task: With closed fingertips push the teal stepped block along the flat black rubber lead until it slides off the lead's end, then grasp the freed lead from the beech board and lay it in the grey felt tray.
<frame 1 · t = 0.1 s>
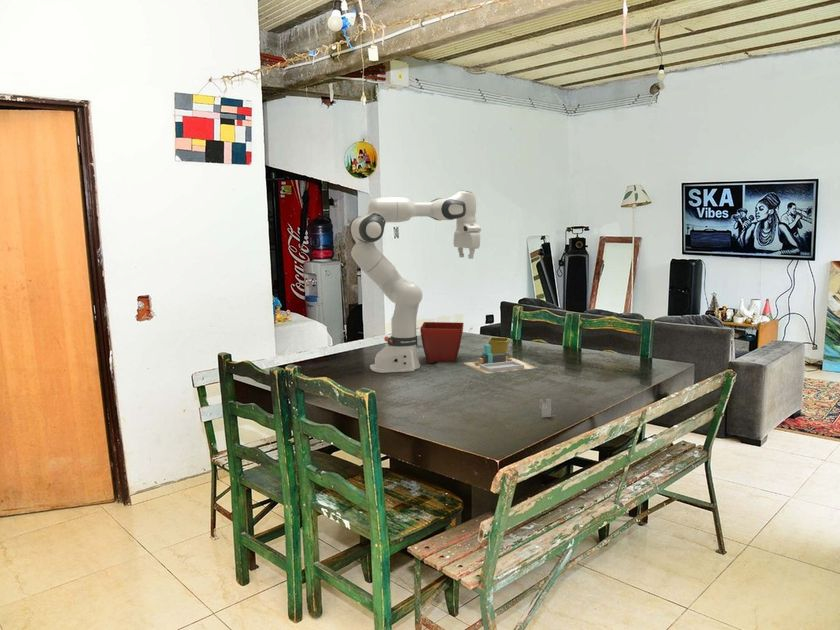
hand: (466, 258, 306), 48 cm above the table, fingers open, 8 cm apart
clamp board: (499, 367, 299), on the table
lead: (493, 363, 302), point 1 cm above the table, touching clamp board
architectural model: (530, 416, 230), on the table
flower pot: (498, 358, 320), on the table
teal stepped block: (487, 354, 300), point 6 cm above the table, slide at 0.0 cm
plant pot: (442, 361, 314), on the table
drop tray: (501, 368, 293), resting on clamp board
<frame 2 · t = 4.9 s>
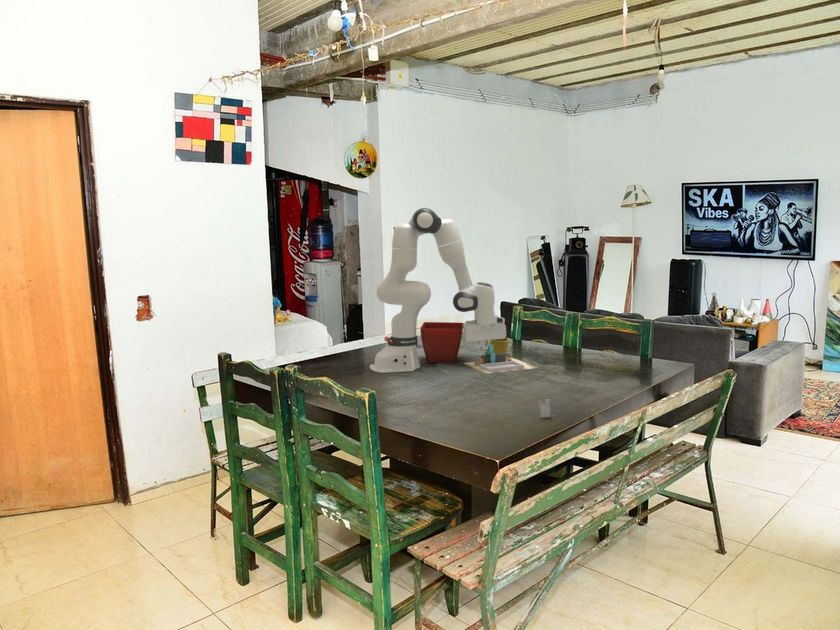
hand: (484, 350, 299), 8 cm above the table, fingers closed
teal stepped block: (490, 354, 300), point 6 cm above the table, slide at 1.3 cm, touching gripper
everything else where it was.
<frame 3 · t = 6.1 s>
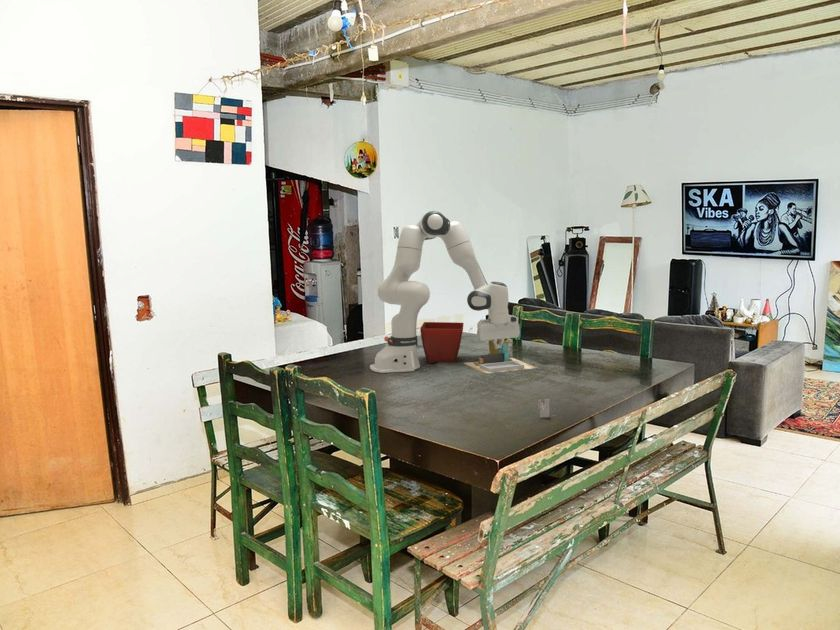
hand: (498, 348, 302), 8 cm above the table, fingers closed
teal stepped block: (503, 352, 303), point 6 cm above the table, slide at 8.2 cm, touching gripper
everything else where it was.
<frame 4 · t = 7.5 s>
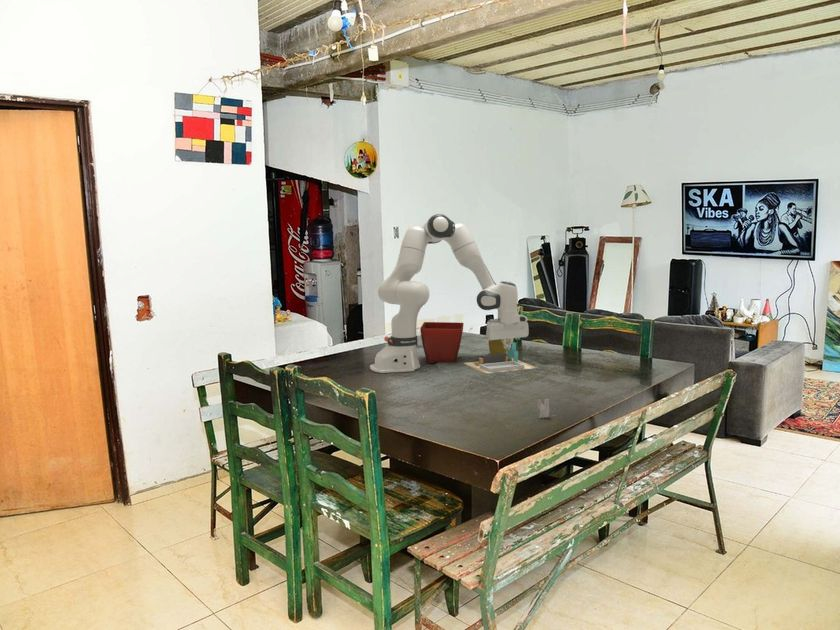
hand: (507, 348, 303), 8 cm above the table, fingers closed
teal stepped block: (512, 351, 305), point 6 cm above the table, slide at 12.9 cm, touching gripper
everything else where it was.
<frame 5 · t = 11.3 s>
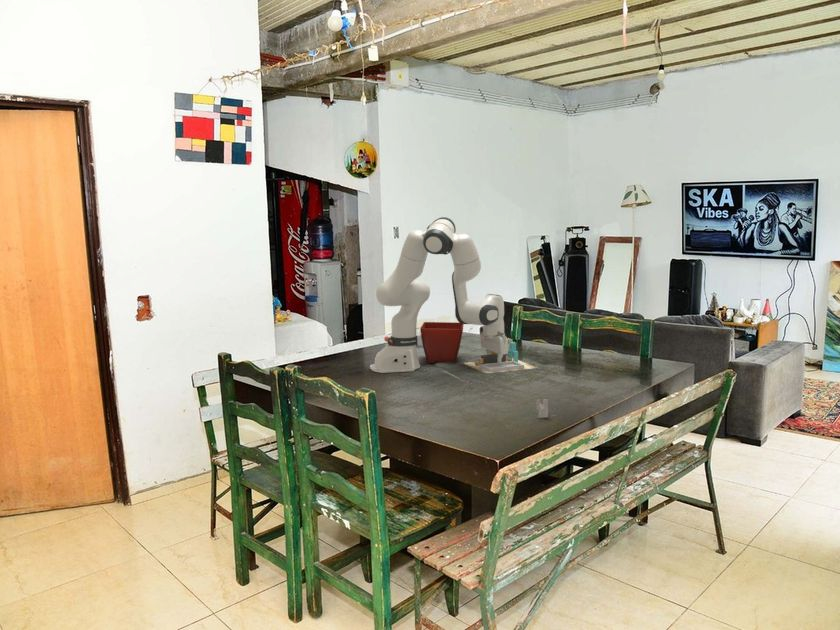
hand: (494, 360, 301), 3 cm above the table, fingers open, 8 cm apart
teal stepped block: (512, 351, 305), point 6 cm above the table, slide at 12.9 cm
everything else where it was.
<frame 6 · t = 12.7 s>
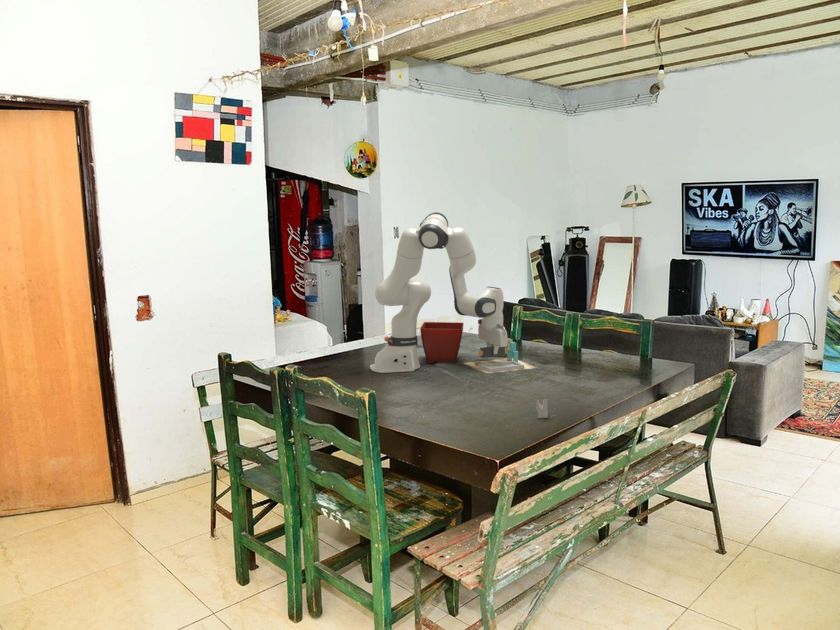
hand: (492, 352, 302), 6 cm above the table, fingers closed on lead, 3 cm apart
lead: (492, 356, 303), point 4 cm above the table, touching gripper
when the fingers open (4 cm above the table, at t = 16.7 s): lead stays where it is, resting on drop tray.
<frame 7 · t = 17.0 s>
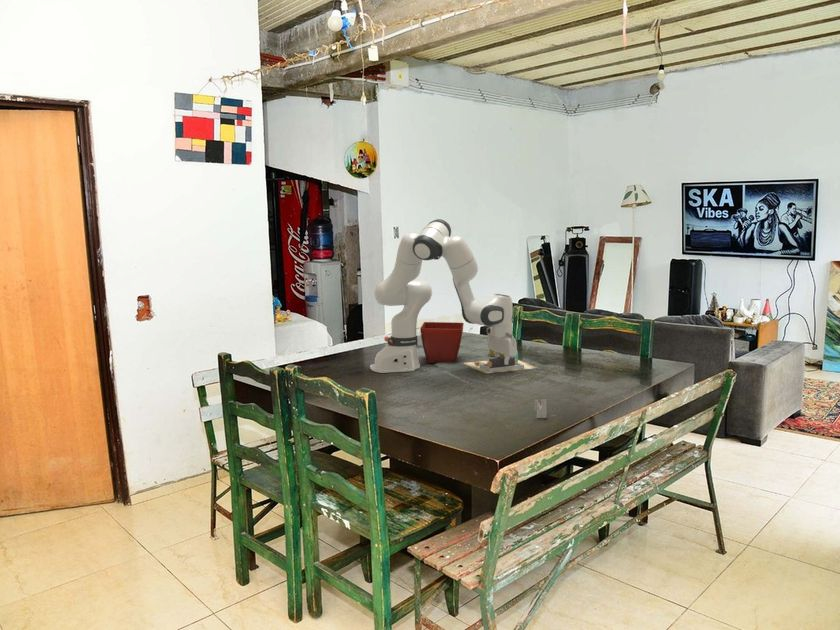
hand: (501, 362, 292), 4 cm above the table, fingers open, 5 cm apart
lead: (501, 367, 293), point 2 cm above the table, touching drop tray
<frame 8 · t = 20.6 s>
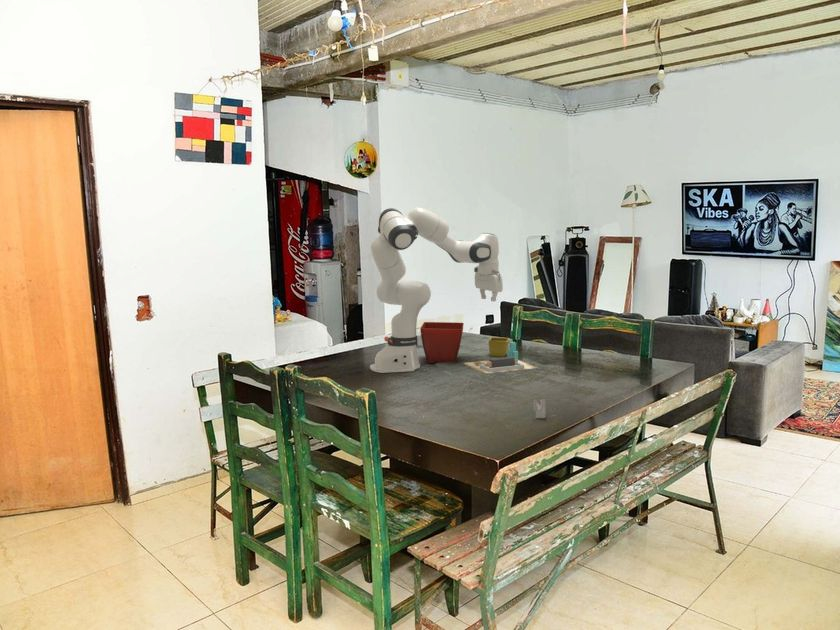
hand: (488, 300, 304), 29 cm above the table, fingers open, 8 cm apart
at the end: teal stepped block slide at 12.9 cm; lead 0.1 cm off-centre on the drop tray, point 0.4 cm above the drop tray's base; the gripper is holding nothing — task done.
